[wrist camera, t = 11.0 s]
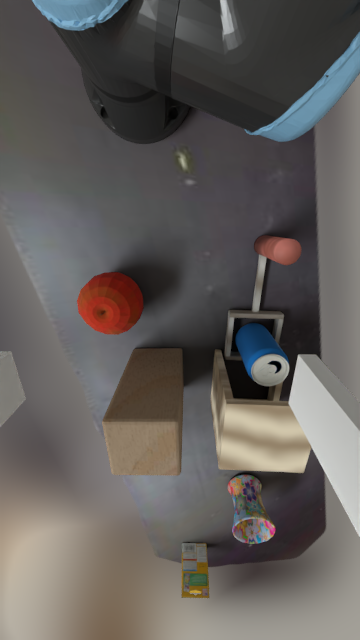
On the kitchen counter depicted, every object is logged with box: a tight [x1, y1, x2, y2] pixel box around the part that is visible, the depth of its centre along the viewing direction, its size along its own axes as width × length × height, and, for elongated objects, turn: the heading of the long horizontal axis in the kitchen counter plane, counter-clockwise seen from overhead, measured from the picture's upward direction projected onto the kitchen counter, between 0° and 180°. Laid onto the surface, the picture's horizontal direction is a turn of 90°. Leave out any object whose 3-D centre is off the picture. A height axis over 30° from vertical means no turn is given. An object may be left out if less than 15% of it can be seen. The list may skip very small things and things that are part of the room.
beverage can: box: [235, 323, 289, 386], centre depth 42 cm, size 6×6×12 cm
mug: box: [228, 475, 275, 544], centre depth 59 cm, size 12×9×11 cm
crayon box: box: [182, 543, 209, 598], centre depth 68 cm, size 7×3×12 cm, turn 92°
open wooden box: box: [211, 349, 311, 473], centre depth 44 cm, size 13×13×16 cm
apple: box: [77, 272, 143, 334], centre depth 40 cm, size 10×10×12 cm
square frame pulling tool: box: [224, 235, 301, 360], centre depth 40 cm, size 23×10×11 cm, turn 179°
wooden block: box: [102, 348, 183, 475], centre depth 42 cm, size 10×10×20 cm
